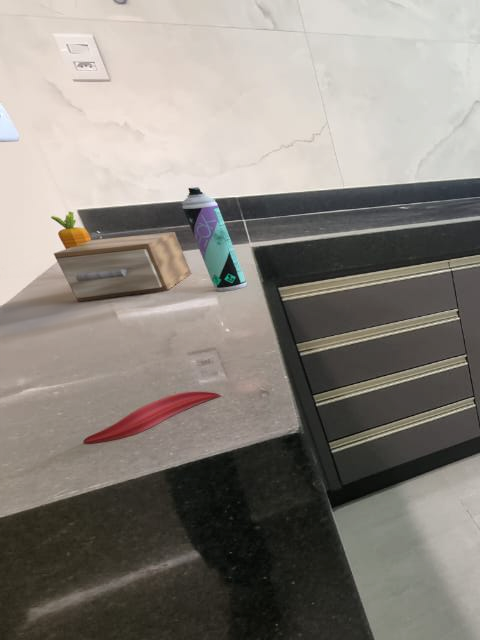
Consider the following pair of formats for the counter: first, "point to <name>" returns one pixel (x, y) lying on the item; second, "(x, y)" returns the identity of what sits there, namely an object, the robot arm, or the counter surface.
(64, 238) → the carrot
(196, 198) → the spray can
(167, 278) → the cabinet
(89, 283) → the drawer
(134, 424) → the cayenne pepper
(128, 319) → the counter surface
